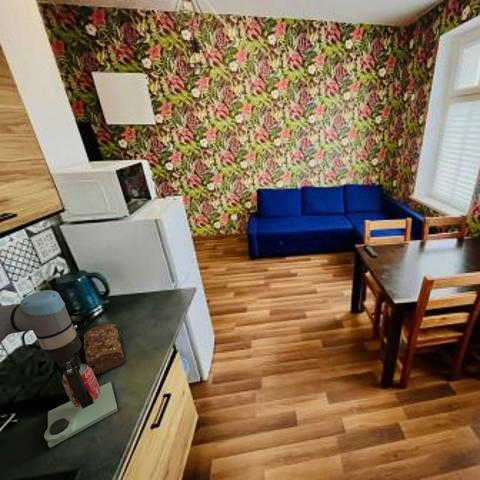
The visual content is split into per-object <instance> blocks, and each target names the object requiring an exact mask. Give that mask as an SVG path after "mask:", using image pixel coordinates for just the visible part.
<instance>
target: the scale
mask: <svg viewBox="0 0 480 480" xmlns="http://www.w3.org/2000/svg"><path fill="white" fill-rule="evenodd" d="M99 387H100V395H99V396H98V398H97V399H96V400H94V403H93V404H91V405H89V406H87V407H86V408H84V409H82V407H75V406H74V405H73V403H72V402H71V400H69V401H68V402H66V403H63V404H61V405H59V406H57V407H55V408H52V409H51V410H49V411H47V429H46V430H45V432H44V437H43V438H44V440H45V441H46V442H47V446H48V448H49V449H51V448H53V447H54V446H57V445H58V444H60V443H62V442H64V441H66V440H67V439H69V438H71V437H73V436H74V435H77V434H79V433H80V432H82V431H84V430H86V429H87V428H89V427H91V426H93V425H95V424H96V423H99V422H100V421H103V420H104V419H106V418H107V417H109V416H111V415H112V414H113V415H114V413H116V412H118V411H119V410H118V406H117V401H116V398H115V393H114V389H113V385H112V381H109V382H107V383H105V384H102V385H101V386H99ZM61 418H65V419H66V420H67V422H68V427H67V428H66V429H65V430H64V431H63V432H61V433H59V434H56V435H53V434H52V433H51V431H50V426H51V425H52V424H53V423H54V422H55V421H57V420H59V419H61Z"/></svg>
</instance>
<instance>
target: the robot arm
mask: <svg viewBox="0 0 480 480" xmlns="http://www.w3.org/2000/svg"><path fill="white" fill-rule="evenodd" d="M77 328H78V325H77V324H75V325H74V324H73V321H72V319H71V317H70V315H69V313H68V310H67V308H66V303H65V301H64V300H63V299H62V297H61V294H59V292H58V291H56V290H51V289H48V290H41V291H39V292H33V293H31V294H28V295H26V296H25V297H23V298H22V299H21V300H20V301H19V303H13V304H5V305H0V344H1V343H2V342H3V341H4V340H5V339H6V338H7V337H9V336H10V335H12V334H18V333H23V332H28V331H32V332H33V333H34V336H35V338H36V340H37V342H38V344H39V346H40V348H41V349H42V351H43V353H44V355H45V357H46V359H47V360H48V361H50V362H58V364H59V367H60V368H61V369H62V375H65V377H66V379H67V381H68V383H69V385H70V387H71V390H72V392H73V394H72V397H75V398H77V399H78V401H79V403H80V405H81V407H82V409H84V408H86V407H87V406H89V405H91V404H93V403H94V401H93V399H92V397H91V395H90V393H89V391H88V389H87V387H85V384H84V382H83V379H82V376H81V374H80V371H79V370H80V365H79V364H83V363H82V361H81V359H80V356H79V353H78V352H79V351H80V349H82V345H83V344H82V341H81V339H80V337H79V335H78V334H77V331H76V329H77ZM76 366H77V367H76Z"/></svg>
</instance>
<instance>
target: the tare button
mask: <svg viewBox="0 0 480 480" xmlns="http://www.w3.org/2000/svg"><path fill="white" fill-rule="evenodd" d="M67 427H68V422H67V420H66V419H65V418H61V419H59V420H57V421H55V422H54V423H53V424H52V425H51V426H50V431H51V433H52V434H53V435H56V434H59V433H61V432H63V431H64V430H65V429H66V428H67Z"/></svg>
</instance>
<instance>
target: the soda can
mask: <svg viewBox="0 0 480 480" xmlns="http://www.w3.org/2000/svg"><path fill="white" fill-rule="evenodd" d="M79 365H80V370H79V371H80V374H81V376H82V379H83V382H84V384H85V387H87V389H88V391H89V393H90V395H91V397H92V399H93V401H94V400H96V399H97V398H98V396H99V395H100V387H101V386H100V385H99V382H98V379H97V377H96V375H94V373H93V371H92V369H91V368H90V367H88V365H87V363H86V364H85V363H82V364H79ZM76 367H77V366H76ZM62 386H63V388H64V391H65V393H66V395H67V396H68V398H69V401H71V402H72V403H73V405H74V406H75V407H81V405H80V403H79V401H78V399H77V398H75V397H72V394H73V392H72V390H71V387H70V385H69V383H68V381H67V379H66V377H65V375H64V374H62Z"/></svg>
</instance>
